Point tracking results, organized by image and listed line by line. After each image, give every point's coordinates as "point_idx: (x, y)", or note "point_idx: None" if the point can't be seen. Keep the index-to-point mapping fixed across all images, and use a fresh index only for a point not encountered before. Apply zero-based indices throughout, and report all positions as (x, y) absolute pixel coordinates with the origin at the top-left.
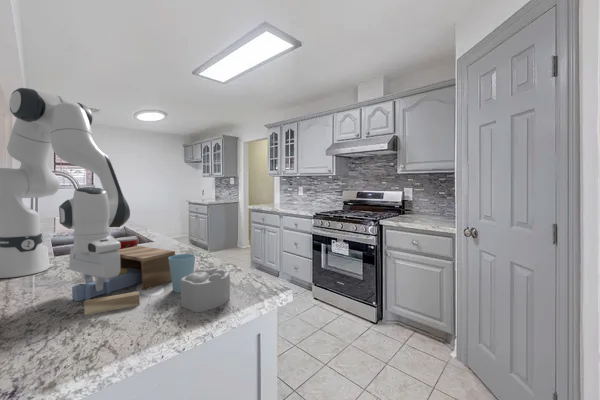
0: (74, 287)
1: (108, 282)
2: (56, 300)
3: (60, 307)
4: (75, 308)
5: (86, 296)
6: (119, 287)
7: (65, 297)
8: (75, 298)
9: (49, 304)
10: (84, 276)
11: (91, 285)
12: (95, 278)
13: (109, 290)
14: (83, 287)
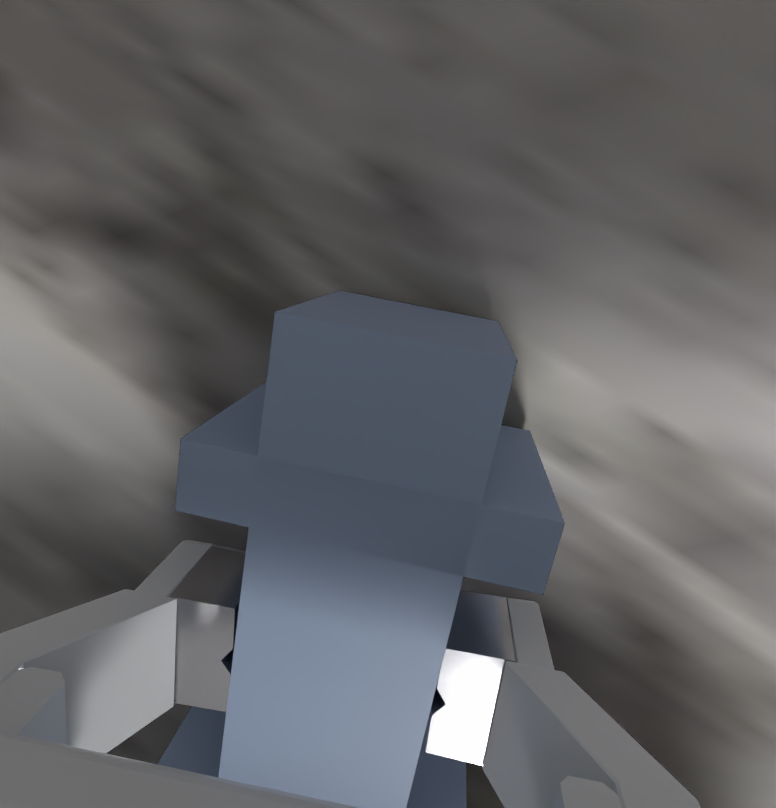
0: (419, 350)
1: None
2: (755, 213)
3: (353, 34)
4: (98, 104)
5: (257, 393)
6: None
7: (735, 358)
8: (393, 305)
9: (686, 42)
10: (593, 788)
11: (250, 574)
12: (27, 693)
13: None
14: (261, 435)
